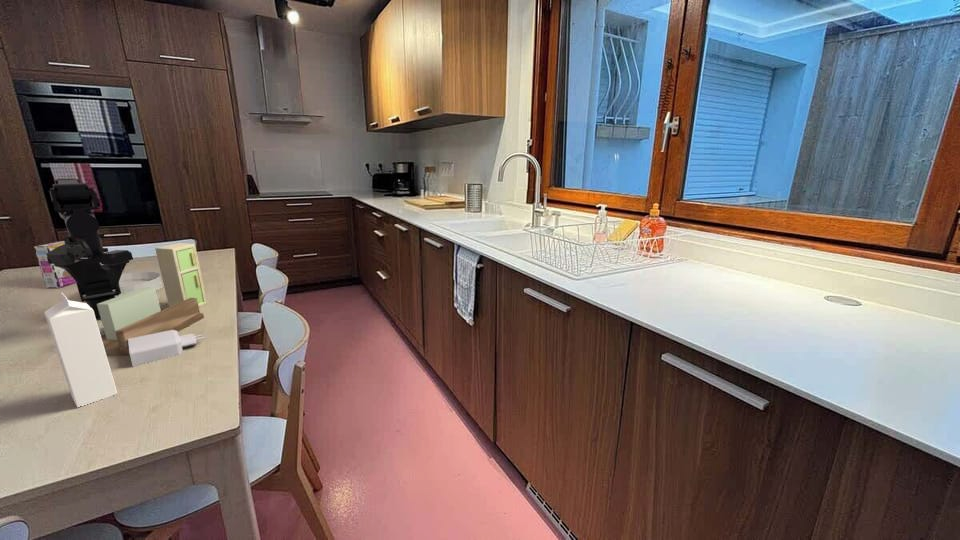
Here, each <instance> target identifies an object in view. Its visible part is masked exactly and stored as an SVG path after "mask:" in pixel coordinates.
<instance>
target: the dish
mask: <svg viewBox="0 0 960 540" xmlns="http://www.w3.org/2000/svg"><path fill="white" fill-rule="evenodd" d="M119 286H120V290H121V294H119V295H118V296H121V295H124V294H127V293H130V292H133V291H135V290H138V289H141V288H144V287H155V288H156V290H159V289H160V288H162V287H163V288H164V283H163V280H162V276H161V274H160V273H159V272H154V271H153V272H152V271H139V272H128V273H127V272H126V273H122V275H121V277H120V280H119ZM163 288H162V289H163ZM113 291H115V290H113ZM159 291H160V290H159ZM82 296H86V295H82ZM118 296H115V298H116V297H118Z"/></svg>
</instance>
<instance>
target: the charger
mask: <svg viewBox="0 0 960 540" xmlns="http://www.w3.org/2000/svg"><path fill="white" fill-rule="evenodd" d="M204 339H206V336H205V334H198V335H196V334H195V333H188V334H183V335H179V331H175V330H169V331H164V332H159V333H154V334H149V335H144V336H140V337H135V338H130V339H128V344H129V352H130V355H129V357H130V360H131V364H132V368H135V367H139V366H143V365H145V363H147V364H150V363H149V362H151V363H154V362H153V361H155V362H157V360H159V361H162V360H166V359H169V358H168V357H170V358H173V357H172V356H174V357H177V356H176V355H178V356H180V355H181V353H182V354H183V353H184V350H183V349H184V348H186V347H189V346H190V347H191V346H194V345H197V344H198V342H197V341H198V340H204ZM179 354H180V355H179ZM165 358H166V359H165ZM161 359H162V360H161ZM142 364H143V365H142ZM138 365H139V366H138ZM134 366H135V367H134Z"/></svg>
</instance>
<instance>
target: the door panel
mask: <svg viewBox="0 0 960 540" xmlns="http://www.w3.org/2000/svg"><path fill="white" fill-rule="evenodd" d="M97 307H98V310H99V314H100V317H101V319H100V320H101V324H102V327H103V328H104V329H103V332H104V331H105V333H104V334H105V335H106V338H107V340H118V339H117V336H116V332H115V331H116V330H119V329H121V328H123V327H125V326H128V325H130V324H132V323H135V322H137V321H139V320H141V319H144V318H146V317H148V316H150V315H153V314H155V313H157V312H159V311H162V310H161V305H160V301H159V296H158V294H157V292H156V288H155V287H144V288H141V289H138V290H135V291H133V292H130V293H127V294H124V295H121V296H118V297H116V298H113V299H110V300H107V301H104V302H101V303H99V304H97Z"/></svg>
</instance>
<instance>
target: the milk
mask: <svg viewBox="0 0 960 540" xmlns="http://www.w3.org/2000/svg"><path fill="white" fill-rule="evenodd" d="M60 294H61V297H62V300H60V301H59V302H58V303H56V304H54V305H53V306H51V307H49V308H48V309H47V310H45V311H44V312H43V313H44V316H45V320H46V322H47V325H48V326H47V327H48V328H49V332H50V335H51V337H52V341H53V343H54V347H55V351H56V353H57V355H58V356H57V357H58V359H59V362H60V365H61V368H62V372H63V374H64V377H65V380H66V383H67V386H68V389H69V392H70V396H71V398H72V400H73V402H74V404H75V405H76V407H77V408H78V407H80V406H82V407H85V406H87V404H88V405H91V404H94V403H96V401H97V402H100V401H102V400H105V399H108V398H110V397H113V395H114V396H116V394H117V395H118V391H117V387H116V383H115V380H114V377H113V373H112V370H111V366H110V363H109V359H108V356H107V355H106V352H105V349H104V345H103V342H102V338H101V335H102V334H101V333H100V328H99V325H98V322H97V319H96V318H95V314H94V311H93V309H92V308H91V307H90V306H89V305H88V304H87V302H86V303H85V302H82V301H81V302H80V301H76V300H75V301H74V300H69V299H68V298H67V296H66V295H65V294H64V293H63V292H61V293H60ZM101 399H102V400H101ZM99 400H100V401H99ZM93 402H94V403H93ZM90 403H91V404H90ZM84 405H85V406H84ZM80 408H81V407H80Z"/></svg>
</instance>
